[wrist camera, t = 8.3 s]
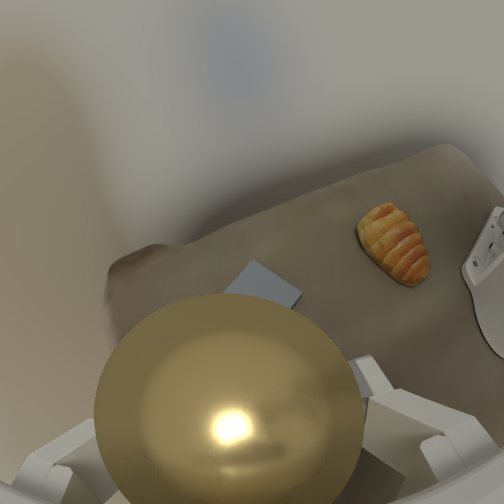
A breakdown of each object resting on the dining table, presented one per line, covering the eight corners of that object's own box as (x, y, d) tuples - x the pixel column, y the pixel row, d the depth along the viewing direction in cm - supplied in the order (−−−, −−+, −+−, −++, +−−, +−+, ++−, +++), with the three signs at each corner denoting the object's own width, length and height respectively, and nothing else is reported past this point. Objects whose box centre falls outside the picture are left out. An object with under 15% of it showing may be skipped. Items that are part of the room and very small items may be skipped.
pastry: (436, 271, 30) (451, 255, 26) (395, 301, 28) (409, 285, 25) (388, 211, 34) (398, 191, 31) (346, 233, 33) (353, 212, 30)
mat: (253, 263, 31) (252, 259, 30) (301, 296, 29) (302, 292, 28) (214, 307, 29) (212, 303, 28) (263, 344, 27) (263, 342, 26)
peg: (249, 357, 14) (205, 247, 5) (318, 406, 12) (413, 388, 4) (195, 419, 12) (55, 416, 4) (263, 471, 11) (243, 582, 2)
